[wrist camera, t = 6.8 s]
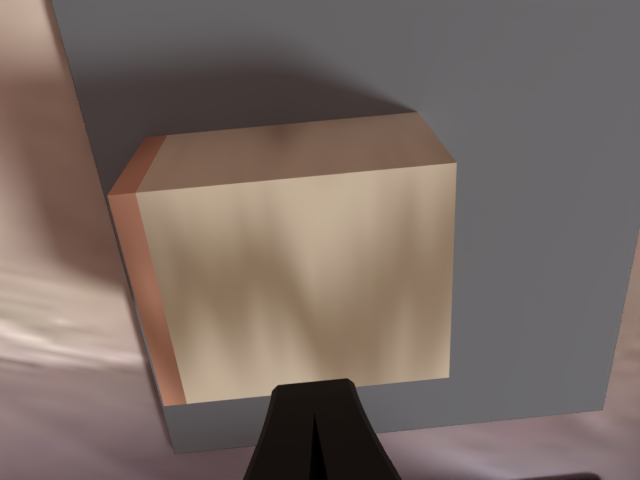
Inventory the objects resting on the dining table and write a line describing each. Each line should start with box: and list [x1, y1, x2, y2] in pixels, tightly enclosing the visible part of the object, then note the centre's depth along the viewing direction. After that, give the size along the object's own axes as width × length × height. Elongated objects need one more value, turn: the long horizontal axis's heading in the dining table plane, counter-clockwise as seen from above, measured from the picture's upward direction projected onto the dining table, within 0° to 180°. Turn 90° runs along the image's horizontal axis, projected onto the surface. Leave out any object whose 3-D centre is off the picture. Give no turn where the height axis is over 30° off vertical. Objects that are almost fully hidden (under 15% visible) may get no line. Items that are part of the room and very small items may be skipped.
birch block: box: [107, 112, 457, 406], centre depth 16 cm, size 6×4×8 cm
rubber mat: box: [51, 0, 640, 454], centre depth 18 cm, size 18×16×1 cm
